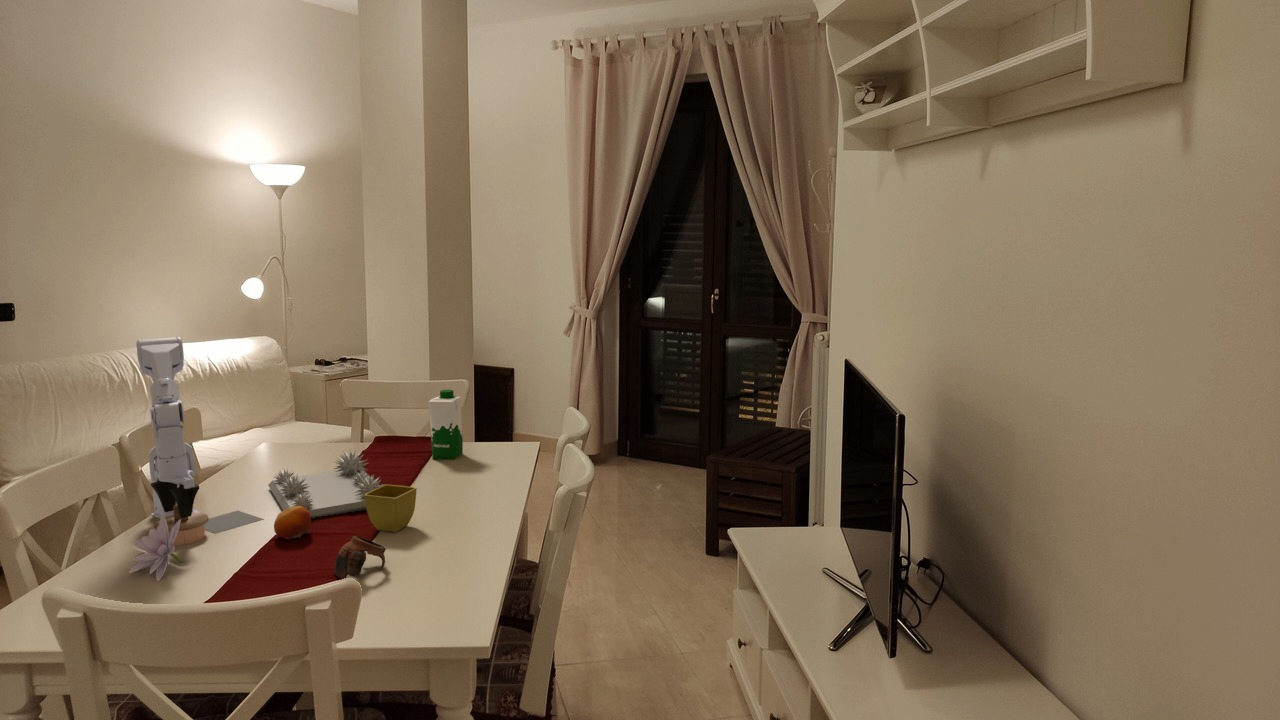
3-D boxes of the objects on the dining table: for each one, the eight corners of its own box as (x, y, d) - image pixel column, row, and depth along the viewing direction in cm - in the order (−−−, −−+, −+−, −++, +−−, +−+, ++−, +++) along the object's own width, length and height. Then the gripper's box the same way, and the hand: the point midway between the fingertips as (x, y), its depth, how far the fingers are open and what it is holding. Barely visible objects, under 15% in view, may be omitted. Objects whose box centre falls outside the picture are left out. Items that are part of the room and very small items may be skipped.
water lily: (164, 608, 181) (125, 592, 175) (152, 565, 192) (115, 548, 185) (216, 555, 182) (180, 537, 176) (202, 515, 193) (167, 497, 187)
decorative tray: (268, 491, 240) (265, 455, 238) (365, 475, 252) (362, 441, 251) (289, 527, 210) (286, 486, 208) (398, 507, 222) (396, 469, 221)
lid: (145, 526, 200) (143, 507, 200) (193, 513, 209) (192, 495, 208) (168, 535, 194) (166, 516, 193) (217, 521, 203) (216, 503, 202)
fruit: (306, 537, 197) (287, 506, 197) (281, 553, 199) (261, 522, 199) (326, 525, 205) (307, 495, 204) (301, 540, 207) (283, 511, 206)
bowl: (147, 541, 201) (145, 526, 200) (191, 529, 208) (190, 514, 208) (168, 550, 195) (166, 535, 194) (213, 537, 202) (211, 522, 202)
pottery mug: (332, 569, 183) (349, 531, 184) (375, 585, 184) (392, 548, 186) (325, 576, 171) (344, 536, 173) (372, 593, 173) (390, 553, 174)
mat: (189, 525, 211) (189, 523, 211) (237, 512, 220) (237, 510, 220) (215, 535, 204) (215, 533, 204) (264, 520, 213) (263, 519, 213)
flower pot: (419, 523, 208) (417, 486, 207) (398, 536, 200) (395, 497, 199) (388, 520, 211) (385, 484, 210) (365, 532, 203) (362, 494, 202)
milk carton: (466, 453, 274) (463, 389, 271) (455, 460, 265) (452, 395, 262) (439, 452, 275) (436, 389, 272) (428, 460, 266) (424, 394, 263)
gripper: (205, 456, 197) (211, 514, 199) (174, 447, 206) (180, 503, 208) (173, 463, 192) (179, 523, 194) (142, 454, 200) (148, 511, 203)
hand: (177, 513), depth 201 cm, fingers open, 7 cm apart
